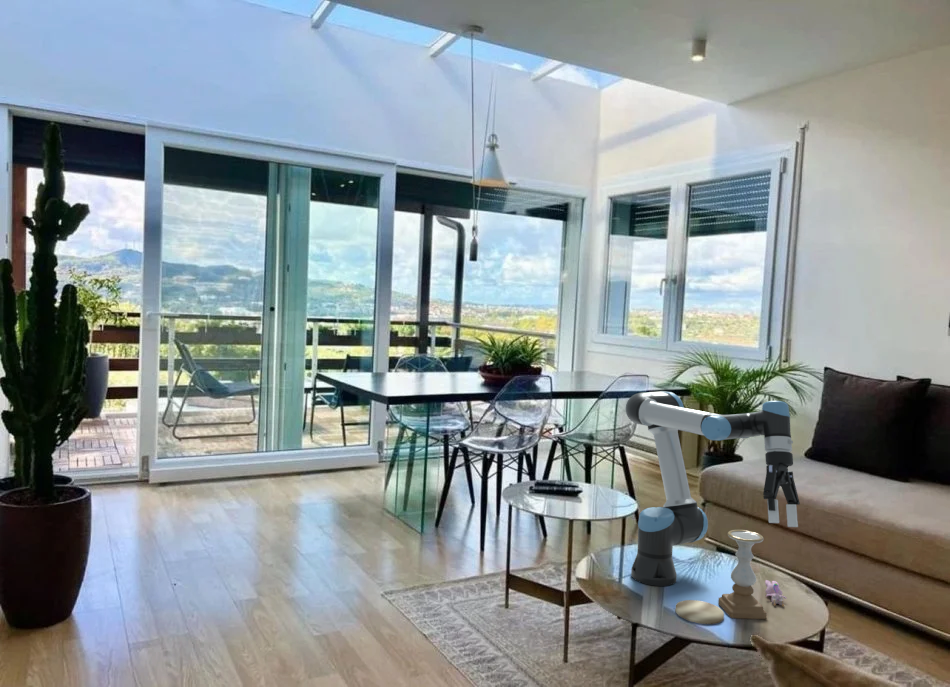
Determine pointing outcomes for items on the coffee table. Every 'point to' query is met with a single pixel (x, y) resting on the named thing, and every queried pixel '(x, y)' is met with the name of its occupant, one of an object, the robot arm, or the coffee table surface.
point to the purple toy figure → (774, 593)
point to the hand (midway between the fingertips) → (783, 525)
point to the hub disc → (699, 612)
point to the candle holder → (743, 580)
